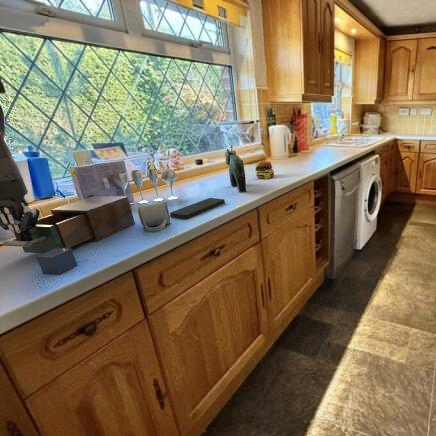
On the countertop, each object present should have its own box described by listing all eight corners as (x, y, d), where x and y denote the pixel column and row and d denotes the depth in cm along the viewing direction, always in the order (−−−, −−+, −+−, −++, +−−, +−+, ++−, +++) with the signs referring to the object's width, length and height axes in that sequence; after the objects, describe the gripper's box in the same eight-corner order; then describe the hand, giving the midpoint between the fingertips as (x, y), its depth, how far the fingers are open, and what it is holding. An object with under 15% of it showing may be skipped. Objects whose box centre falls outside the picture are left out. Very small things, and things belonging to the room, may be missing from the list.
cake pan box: (129, 199, 131) (119, 158, 125) (137, 200, 129) (127, 159, 123) (81, 213, 114) (66, 166, 108) (89, 214, 112) (74, 167, 106)
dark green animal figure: (228, 184, 151) (222, 144, 144) (241, 183, 154) (235, 143, 147) (236, 193, 134) (230, 148, 128) (251, 191, 137) (245, 146, 130)
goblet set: (102, 209, 117) (92, 175, 113) (104, 205, 122) (95, 173, 118) (181, 198, 130) (175, 167, 125) (180, 195, 135) (174, 165, 130)
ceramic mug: (143, 223, 101) (138, 201, 98) (170, 219, 105) (165, 197, 102) (141, 234, 92) (135, 211, 90) (171, 229, 96) (165, 206, 93)
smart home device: (225, 198, 120) (185, 214, 103) (226, 203, 121) (186, 219, 104) (209, 197, 124) (168, 212, 106) (210, 201, 124) (169, 217, 107)
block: (43, 273, 71) (35, 256, 69) (62, 264, 75) (55, 247, 74) (59, 275, 70) (52, 257, 68) (77, 265, 74) (71, 248, 73)
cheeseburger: (258, 180, 158) (255, 161, 157) (254, 181, 168) (251, 163, 167) (277, 177, 162) (273, 158, 161) (272, 178, 172) (269, 161, 171)
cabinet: (97, 241, 88) (87, 210, 85) (61, 240, 90) (50, 209, 87) (135, 223, 102) (127, 196, 98) (103, 222, 104) (94, 195, 100)
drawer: (40, 263, 74) (28, 234, 71) (3, 261, 76) (-10, 232, 73) (104, 234, 91) (96, 209, 88) (72, 233, 93) (64, 209, 90)
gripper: (-45, 181, 68) (-12, 250, 74) (3, 181, 65) (32, 253, 71) (-5, 174, 75) (22, 238, 81) (39, 174, 72) (63, 240, 78)
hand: (27, 245), depth 76 cm, fingers closed
